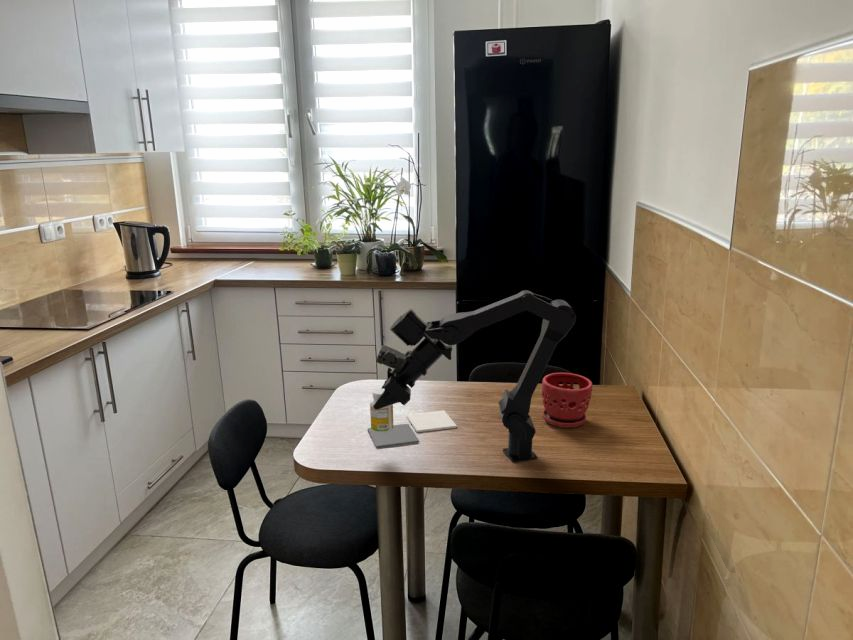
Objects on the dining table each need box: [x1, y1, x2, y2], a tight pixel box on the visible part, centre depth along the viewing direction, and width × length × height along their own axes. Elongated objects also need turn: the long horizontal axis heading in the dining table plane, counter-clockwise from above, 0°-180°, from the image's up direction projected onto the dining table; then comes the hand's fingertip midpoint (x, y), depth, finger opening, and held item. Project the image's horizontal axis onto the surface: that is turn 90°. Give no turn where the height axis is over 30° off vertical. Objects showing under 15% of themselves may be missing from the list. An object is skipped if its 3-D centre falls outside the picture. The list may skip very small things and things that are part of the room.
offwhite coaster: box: [406, 409, 458, 433], centre depth 174 cm, size 11×11×1 cm
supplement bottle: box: [369, 388, 394, 434], centre depth 152 cm, size 5×5×10 cm
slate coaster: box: [367, 423, 420, 449], centre depth 165 cm, size 11×11×1 cm
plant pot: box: [541, 372, 593, 428], centre depth 172 cm, size 13×13×12 cm
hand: (375, 403), depth 152 cm, fingers closed on supplement bottle, 5 cm apart
